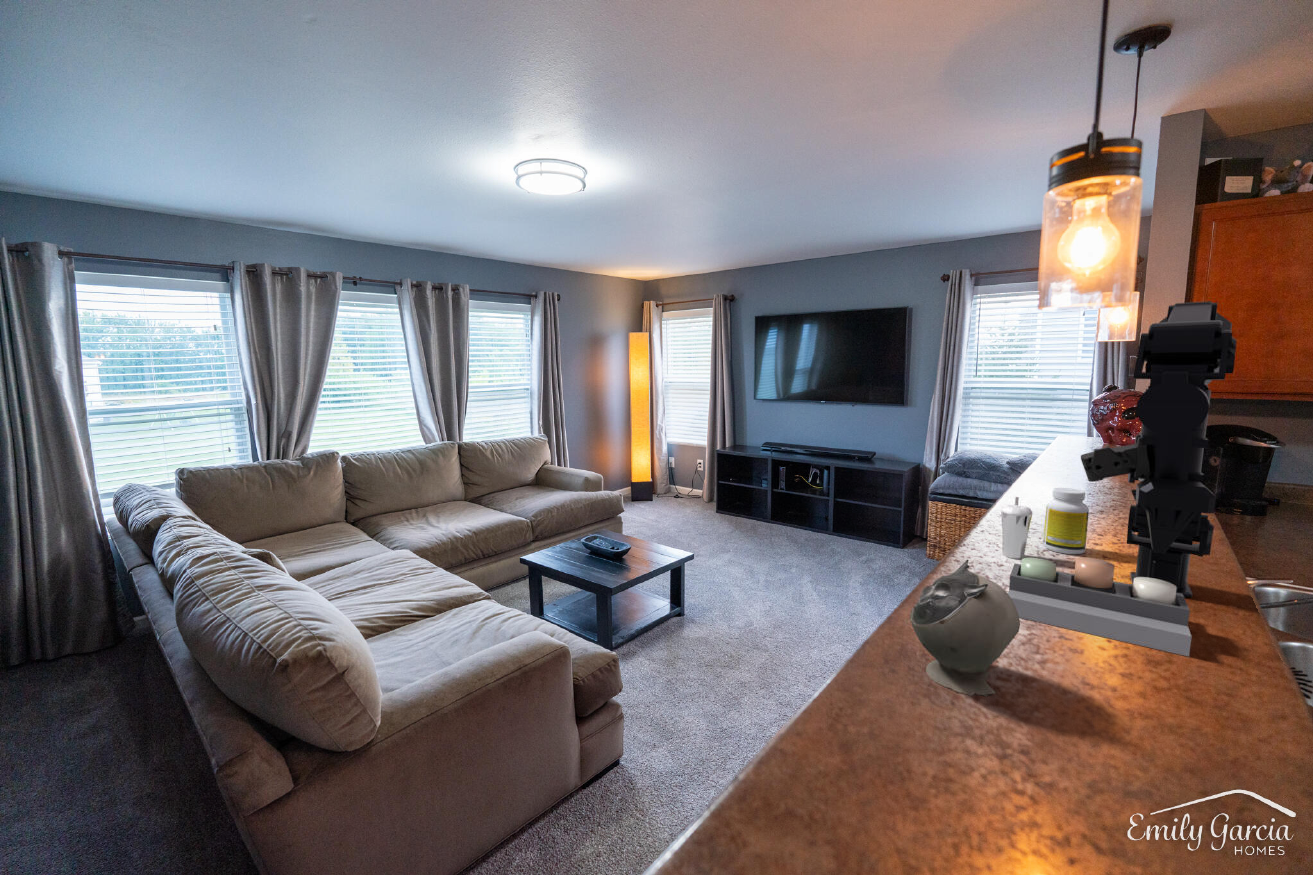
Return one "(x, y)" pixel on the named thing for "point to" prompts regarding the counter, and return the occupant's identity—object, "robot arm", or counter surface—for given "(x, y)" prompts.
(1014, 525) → the milkshake
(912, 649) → the counter surface
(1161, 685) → the counter surface
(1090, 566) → the button terracotta
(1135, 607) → the button panel
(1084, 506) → the pill bottle
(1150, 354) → the robot arm
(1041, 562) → the button sage
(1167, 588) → the button ivory
